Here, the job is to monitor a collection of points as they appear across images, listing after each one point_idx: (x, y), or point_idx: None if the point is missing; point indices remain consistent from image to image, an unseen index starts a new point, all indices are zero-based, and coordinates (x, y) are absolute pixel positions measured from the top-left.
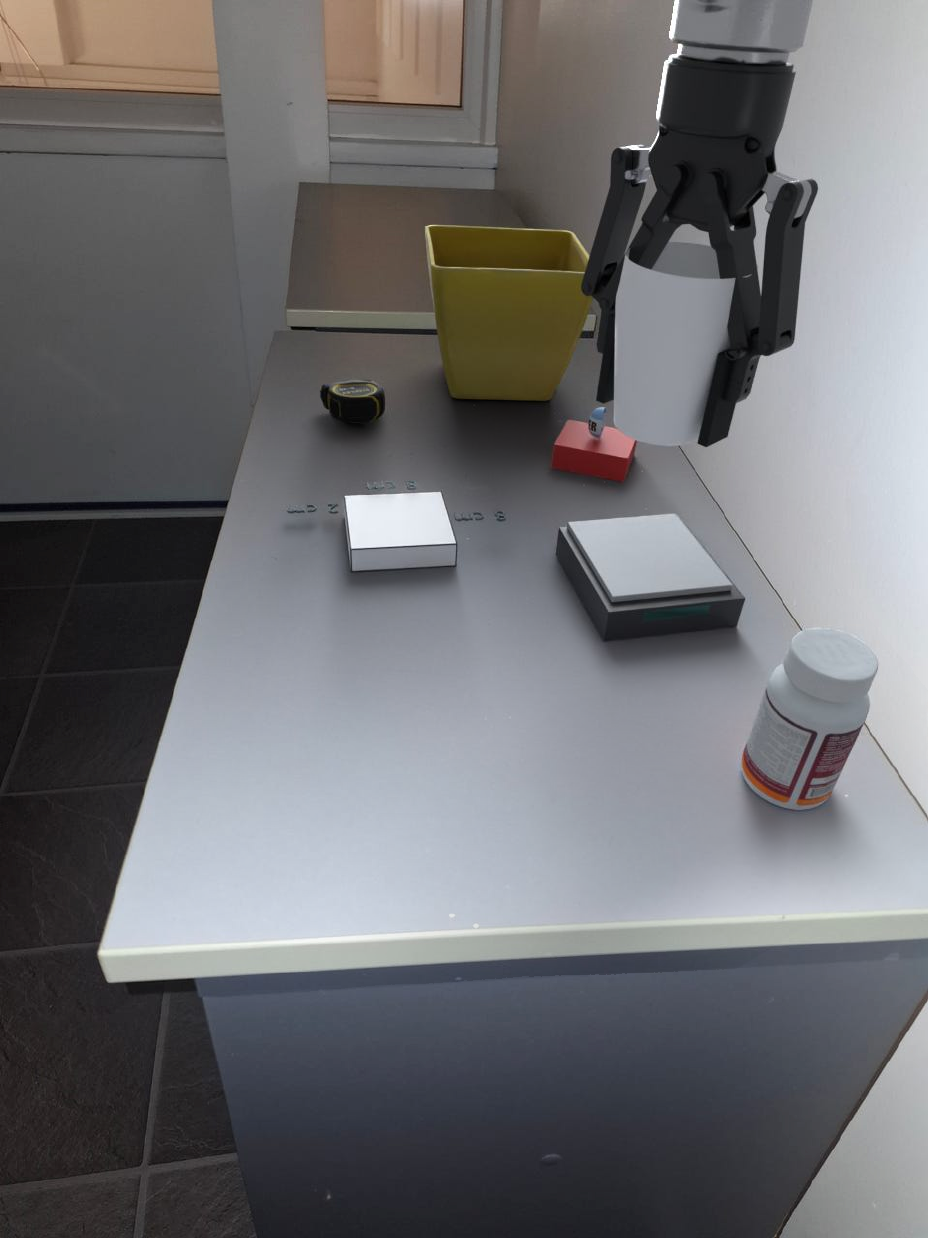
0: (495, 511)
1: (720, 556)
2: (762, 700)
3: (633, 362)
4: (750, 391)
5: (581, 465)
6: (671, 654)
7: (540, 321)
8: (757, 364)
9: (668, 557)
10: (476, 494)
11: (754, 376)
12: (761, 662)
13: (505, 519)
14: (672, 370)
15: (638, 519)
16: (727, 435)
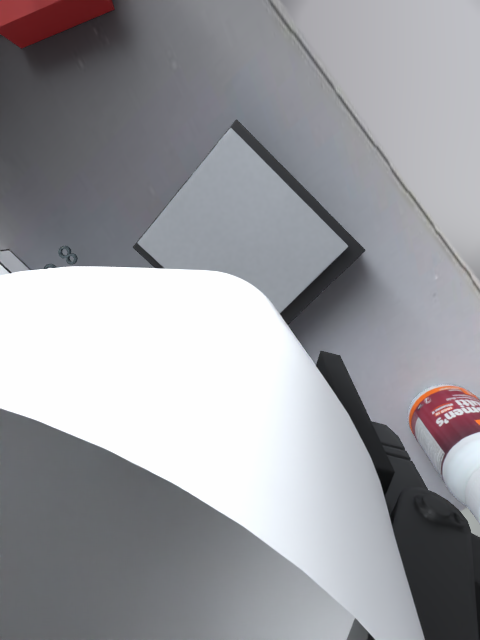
0: (58, 252)
1: (298, 116)
2: (436, 467)
3: (132, 544)
4: (399, 440)
5: (50, 26)
6: (314, 326)
7: None
8: (426, 488)
9: (265, 240)
10: (6, 186)
11: (413, 464)
12: (393, 287)
13: (76, 258)
14: (227, 555)
15: (199, 178)
16: (339, 356)
